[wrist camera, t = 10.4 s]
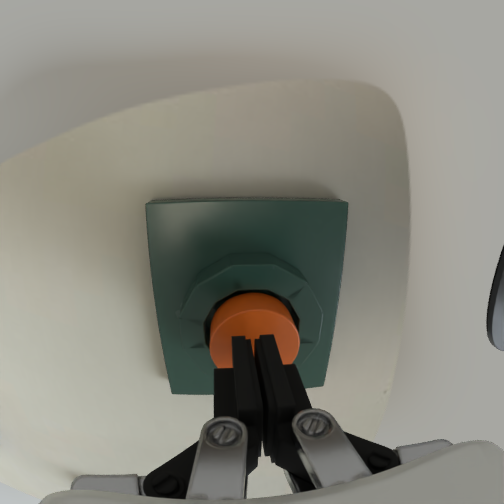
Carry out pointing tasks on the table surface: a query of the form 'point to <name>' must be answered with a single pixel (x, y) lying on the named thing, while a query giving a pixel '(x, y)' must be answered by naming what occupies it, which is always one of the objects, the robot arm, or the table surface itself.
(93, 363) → the table surface
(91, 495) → the robot arm
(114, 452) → the table surface
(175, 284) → the control block
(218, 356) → the button
